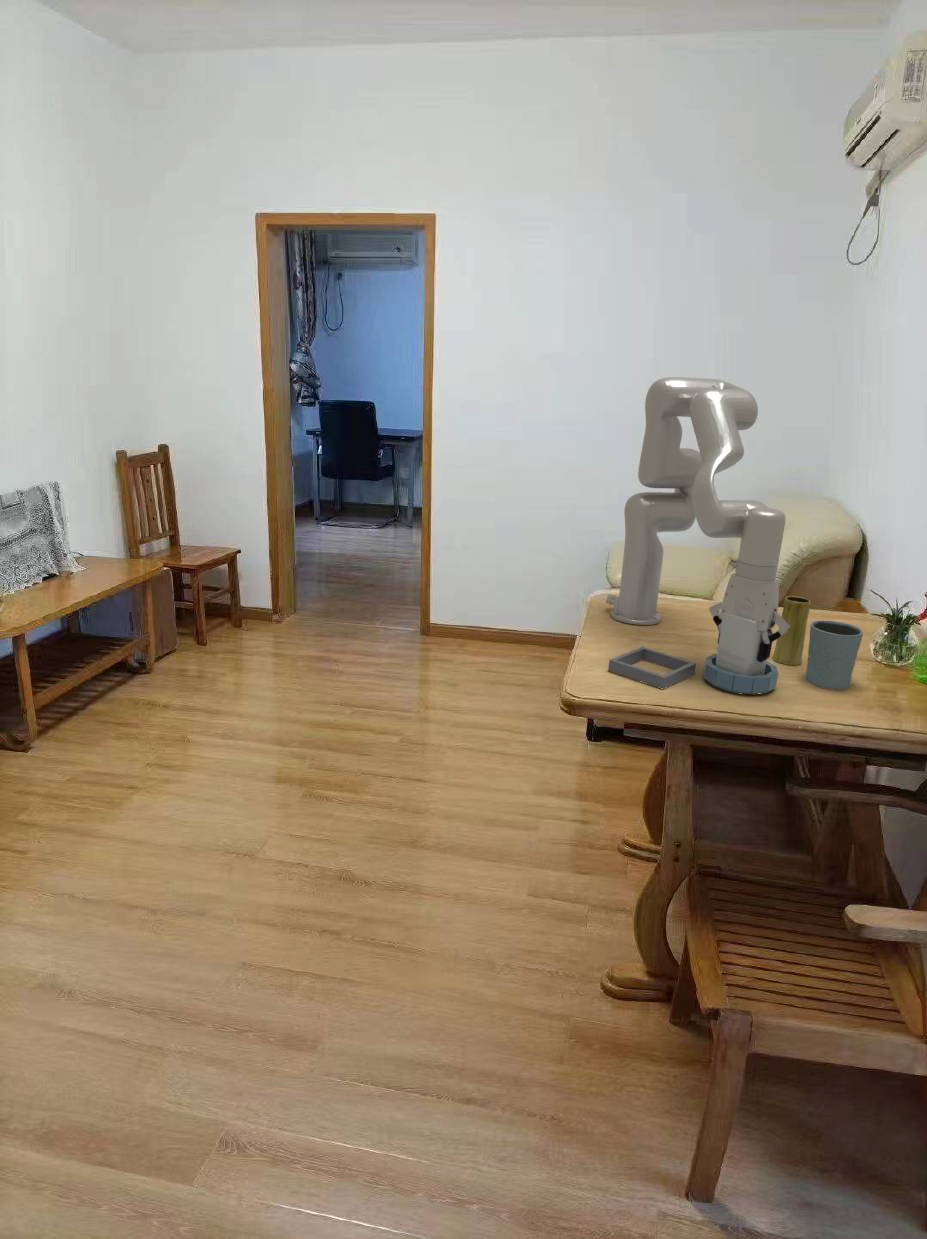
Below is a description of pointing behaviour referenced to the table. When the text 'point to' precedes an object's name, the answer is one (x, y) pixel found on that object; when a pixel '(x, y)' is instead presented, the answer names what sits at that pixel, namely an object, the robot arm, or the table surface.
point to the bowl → (740, 678)
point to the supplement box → (739, 646)
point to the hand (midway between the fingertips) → (742, 654)
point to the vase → (793, 631)
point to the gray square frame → (624, 667)
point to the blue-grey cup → (832, 654)
